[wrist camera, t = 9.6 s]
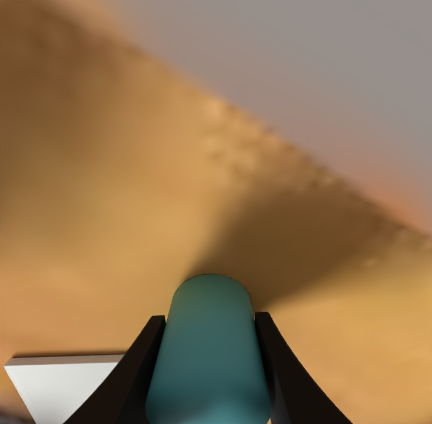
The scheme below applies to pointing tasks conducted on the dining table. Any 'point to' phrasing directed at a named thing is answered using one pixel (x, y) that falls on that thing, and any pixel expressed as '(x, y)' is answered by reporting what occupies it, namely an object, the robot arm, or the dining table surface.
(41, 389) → the letter mat
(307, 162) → the dining table surface
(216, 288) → the teal rounded cylinder
